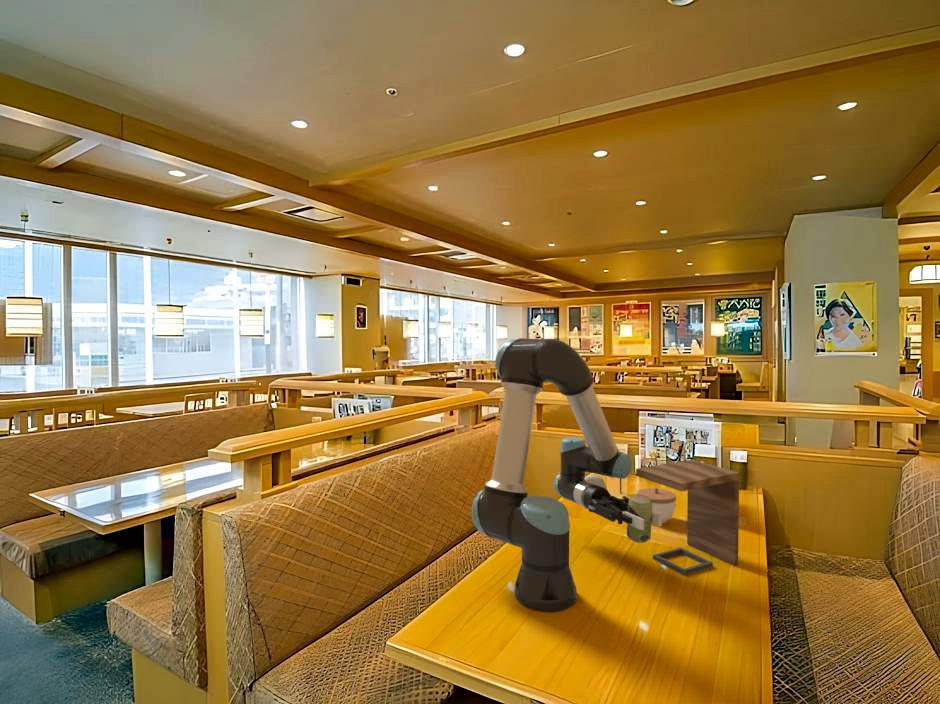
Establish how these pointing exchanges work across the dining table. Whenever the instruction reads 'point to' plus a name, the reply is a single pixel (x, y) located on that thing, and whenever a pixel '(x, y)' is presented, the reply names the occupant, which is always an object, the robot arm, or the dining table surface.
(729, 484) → the walnut shelf
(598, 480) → the donut
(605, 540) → the dining table surface
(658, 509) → the lidded bowl
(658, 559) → the grey square frame
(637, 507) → the beverage can
